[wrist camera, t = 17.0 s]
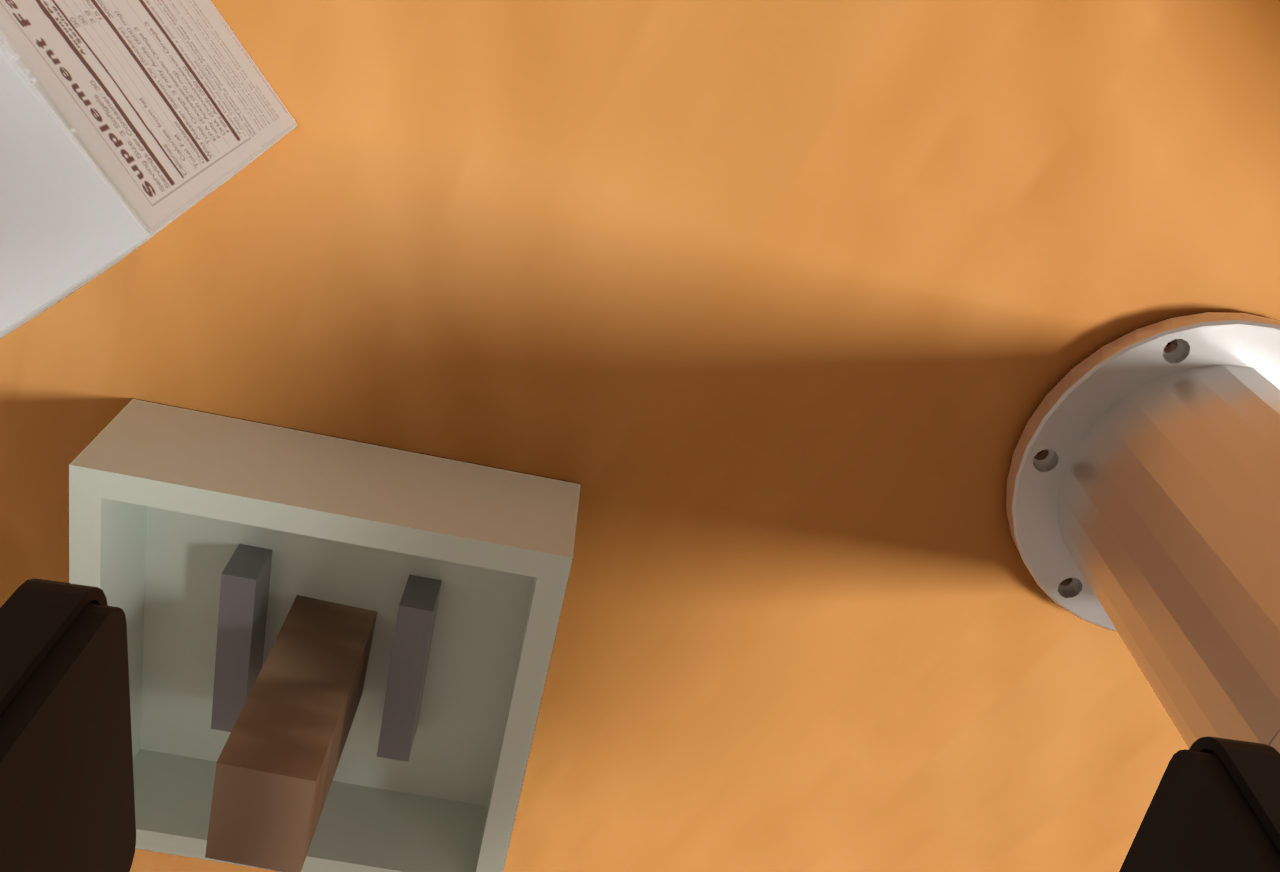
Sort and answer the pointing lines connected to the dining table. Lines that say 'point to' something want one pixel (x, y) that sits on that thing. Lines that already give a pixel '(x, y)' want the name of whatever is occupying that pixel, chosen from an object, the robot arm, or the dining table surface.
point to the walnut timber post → (290, 737)
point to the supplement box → (114, 133)
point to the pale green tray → (336, 572)
